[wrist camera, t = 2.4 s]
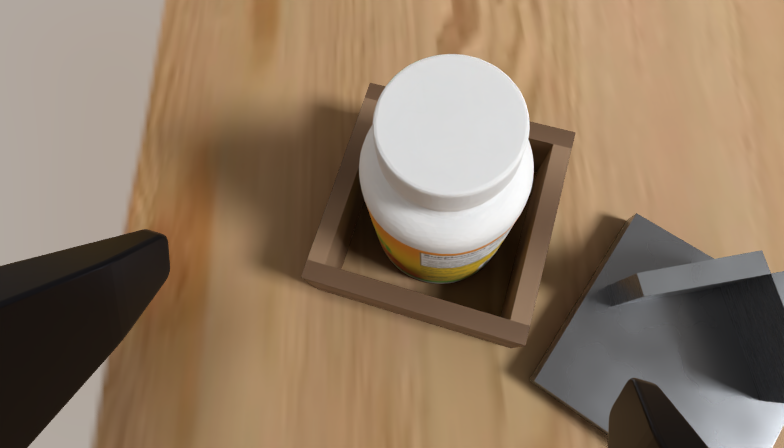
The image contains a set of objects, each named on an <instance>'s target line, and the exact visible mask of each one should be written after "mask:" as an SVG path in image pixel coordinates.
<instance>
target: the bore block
mask: <svg viewBox="0 0 784 448" xmlns="http://www.w3.org/2000/svg"><path fill="white" fill-rule="evenodd" d="M385 87H386V86H381V85H377V84H373V83H370V85H369V87H368V90H367V93H366V96H365V99H364V101H363V104H362V107H361V110H360V113H359V115H358V118H357V121H356V124H355V127H354V129H353V132H352V135H351V138H350V141H349V144H348V146H347V149H346V152H345V155H344V158H343V160H342V163H341V166H340V169H339V172H338V174H337V177H336V180H335V183H334V186H333V188H332V191H331V194H330V197H329V200H328V203H327V205H326V208H325V211H324V214H323V217H322V219H321V222H320V225H319V228H318V231H317V233H316V236H315V239H314V242H313V245H312V247H311V250H310V253H309V256H308V259H307V262H306V264H305V267H304V270H303V273H302V276H301V278H303V279H304V280H306V281H307V282H308V283H310V284H311V285H313V286H314V287H316V288H317V289H319V290H323V291H326V292H329V293H333V294H336V295H339V296H342V297H346V298H349V299H352V300H355V301H359V302H362V303H365V304H368V305H372V306H375V307H378V308H382V309H385V310H388V311H391V312H395V313H398V314H401V315H404V316H408V317H411V318H414V319H417V320H421V321H424V322H427V323H430V324H434V325H437V326H440V327H444V328H447V329H450V330H453V331H457V332H460V333H463V334H466V335H470V336H473V337H476V338H479V339H483V340H486V341H489V342H492V343H496V344H499V345H502V346H506V347H509V348H515V347H520V346H525V345H526V341H527V337H528V333H529V328H530V324H531V320H532V316H533V311H534V307H535V303H536V299H537V294H538V290H539V286H540V281H541V277H542V273H543V269H544V264H545V260H546V256H547V252H548V247H549V243H550V239H551V235H552V230H553V226H554V222H555V217H556V213H557V209H558V205H559V200H560V196H561V192H562V188H563V183H564V179H565V175H566V171H567V166H568V162H569V158H570V153H571V149H572V145H573V141H574V136H575V132H571V131H567V130H563V129H559V128H555V127H550V126H546V125H542V124H538V123H534V122H530V121H529V125H530V130H529V138H528V140H529V143H530V146H531V149H532V154H533V162H534V172H536V177H535V181H534V185H533V189H532V193H531V197H530V201H529V205H528V209H527V213H526V217H525V221H524V225H523V229H522V233H521V237H520V241H519V245H518V249H517V253H516V257H515V261H514V265H513V269H512V273H511V277H510V281H509V285H508V289H507V293H506V297H505V301H504V305H503V309H502V313H501V317H499V316H495V315H492V314H489V313H485V312H482V311H479V310H475V309H472V308H468V307H465V306H462V305H458V304H455V303H452V302H448V301H445V300H442V299H438V298H435V297H432V296H428V295H425V294H422V293H418V292H415V291H412V290H408V289H405V288H401V287H398V286H395V285H391V284H388V283H385V282H381V281H378V280H375V279H371V278H368V277H365V276H361V275H358V274H355V273H351V272H348V271H345V270H341V268H342V265H343V262H344V259H345V256H346V253H347V250H348V247H349V244H350V241H351V238H352V235H353V232H354V229H355V226H356V223H357V220H358V217H359V215H360V212H361V209H362V206H363V203H364V197H363V193H362V190H361V185H360V178H359V161H360V153H361V150H362V146H363V143H364V140H365V138H366V135H367V133H368V131H369V129H370V128H371V126H372V125H373V115H374V111H375V107H376V104H377V102H378V99H379V97H380V95H381V93H382V91H383V90H384V88H385Z"/></svg>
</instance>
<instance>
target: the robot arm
mask: <svg viewBox="0 0 784 448" xmlns="http://www.w3.org/2000/svg"><path fill="white" fill-rule="evenodd" d="M169 272H170V260H169V248H168V239H167V238H166V236H165V235H163V234H161V233H158V232H155V231H151V230H147V229H144V230H140V231H136V232H132V233H128V234H124V235H120V236H116V237H112V238H109V239H105V240H101V241H97V242H93V243H89V244H85V245H81V246H77V247H73V248H69V249H66V250H62V251H57V252H54V253H50V254H46V255H42V256H38V257H34V258H31V259H26V260H22V261H18V262H14V263H10V264H7V265H3V266H0V448H27V447H28V446H29V445H30V444H31V443H32V442H33V441H34V440H35V438H36V437H37V436H38V435H39V434H40V433H41V432H42V431H43V429H44V428H45V427H46V426H47V425H48V424H49V423H50V422H51V420H52V419H53V418H54V417H55V416H56V415H57V414H58V413H59V411H60V410H61V409H62V408H63V407H64V406H65V405H66V403H67V402H68V401H69V400H70V399H71V398H72V397H73V396H74V394H75V393H76V392H77V391H78V390H79V389H80V388H81V387H82V385H83V384H84V383H85V382H86V381H87V380H88V379H89V377H90V376H91V375H92V374H93V373H94V372H95V371H96V370H97V369H98V367H99V366H100V365H101V364H102V363H103V362H104V361H105V360H106V358H107V357H108V356H109V355H110V354H111V353H112V352H113V351H114V349H115V348H116V347H117V346H118V345H119V344H120V342H121V341H122V340H123V339H124V337H125V336H126V335H127V334H128V332H129V331H130V330H131V328H132V327H133V325H134V324H135V323H136V321H137V320H138V319H139V317H140V316H141V314H142V313H143V312H144V310H145V309H146V307H147V306H148V305H149V303H150V302H151V300H152V299H153V298H154V296H155V295H156V293H157V292H158V291H159V289H160V288H161V287H162V285H163V284H164V282H165V281H166V279H167V277H168V275H169ZM608 448H709V447H708V446H707V445H706V444H705V442H704V441H703V440H702V439H701V437H700V436H699V435H698V434H697V433H696V431H695V430H694V429H693V428H692V426H691V425H690V424H689V423H688V422H687V420H686V419H685V418H684V417H683V416H682V414H681V413H680V412H679V411H678V409H677V408H676V407H675V406H674V405H673V403H672V402H671V401H670V400H669V398H668V397H667V396H666V395H665V394H664V392H663V391H662V390H661V389H660V388H659V387H658V386H657V385H656V384H654V383H651V382H648V381H645V380H642V379H638V378H631V379H629V380H628V381H627V383H626V384H625V386H624V388H623V389H622V391H621V393H620V394H619V396H618V398H617V399H616V401H615V403H614V404H613V406H612V408H611V411H610V415H609V426H608Z"/></svg>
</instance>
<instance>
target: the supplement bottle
mask: <svg viewBox="0 0 784 448" xmlns="http://www.w3.org/2000/svg"><path fill="white" fill-rule="evenodd" d="M529 130H530V125H529V114H528V110H527V106H526V103H525V100H524V98H523V96H522V94H521V92H520V90H519V89H518V87H517V86H516V85H515V83H514V82H513V81H512V80H511V79H510V78H509V77H508V76H507V75H506V74H505V73H504V72H503V71H501V70H500V69H499V68H497V67H496V66H494V65H492V64H490V63H488V62H486V61H484V60H481V59H479V58H475V57H471V56H466V55H458V54H446V55H436V56H431V57H428V58H424V59H421V60H419V61H416V62H414V63H413V64H411V65H409V66H407V67H406V68H404V69H403V70H401V71H400V72H399V73H398V74H397V75H395V76H394V77H393V78H392V80H391V81H390V82H389V83H388V84H387V86H386V87H385V88H384V90H383V91H382V93H381V95H380V97H379V99H378V102H377V104H376V107H375V111H374V115H373V125H372V126H371V128H370V129H369V131H368V133H367V135H366V138H365V140H364V143H363V146H362V150H361V153H360V161H359V178H360V185H361V190H362V193H363V197H364V200H365V203H366V205H367V208H368V211H369V214H370V217H371V219H372V222H373V225H374V228H375V230H376V233H377V236H378V238H379V241H380V244H381V246H382V248H383V250H384V252H385V253H386V255H387V256H388V258H389V259H390V260H391V262H392V263H393V264H394V265H395V266H396V267H397V268H398V269H400V270H401V271H402V272H403V273H405V274H407V275H408V276H410V277H412V278H414V279H417V280H420V281H423V282H428V283H436V284H443V283H453V282H457V281H461V280H463V279H466V278H468V277H470V276H472V275H473V274H475V273H477V272H478V271H479V270H481V269H482V268H483V267H484V266H485V265H486V264H487V263H488V262H489V261H490V260H491V259H492V257H493V256H494V255H495V253H496V252H497V250H498V248H499V247H500V245H501V244H502V242H503V241H504V239H505V238H506V236H507V235H508V233H509V231H510V230H511V228H512V226H513V225H514V223H515V222H516V220H517V219H518V217H519V216H520V214H521V212H522V210H523V208H524V207H525V205H526V202H527V200H528V197H529V194H530V192H531V188H532V183H533V174H534V162H533V154H532V149H531V146H530V143H529V140H528V138H529Z"/></svg>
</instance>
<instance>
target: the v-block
mask: <svg viewBox="0 0 784 448" xmlns="http://www.w3.org/2000/svg"><path fill="white" fill-rule="evenodd" d="M631 378H638V379H642V380H645V381H648V382H651V383H654V384H656V385H657V386H658V387H659V388H660V389H661V390H662V391H663V392H664V394H665V395H666V396H667V397H668V398H669V400H670V401H671V402H672V403H673V405H674V406H675V407H676V408H677V409H678V411H679V412H680V413H681V414H682V416H683V417H684V418H685V419H686V420H687V422H688V423H689V424H690V425H691V426H692V428H693V429H694V430H695V431H696V433H697V434H698V435H699V436H700V437H701V439H702V440H703V441H704V442H705V444H706V445H707V446H708V447H709V448H773V446H774V444H775V442H776V439H777V437H778V435H779V433H780V431H781V429H782V427H783V425H784V271H782V272H777V273H771V272H770V270H769V267H768V265H767V262H766V260H765V257H764V254H763V252H762V251H756V252H751V253H745V254H740V255H734V256H729V257H723V258H718V259H714V258H712V257H710V256H708V255H707V254H705V253H703V252H702V251H700V250H698V249H696V248H695V247H693V246H691V245H690V244H688V243H686V242H684V241H683V240H681V239H679V238H678V237H676V236H674V235H673V234H671V233H669V232H667V231H666V230H664V229H662V228H661V227H659V226H657V225H655V224H654V223H652V222H650V221H649V220H647V219H645V218H644V217H642V216H640V215H638V214H637V213H636V214H635V215H634V216H632V217H631V218H629V219H628V220H627V221H626V223H625V224H624V226H623V227H622V229H621V231H620V232H619V234H618V236H617V237H616V239H615V241H614V242H613V244H612V245H611V247H610V249H609V250H608V252H607V254H606V255H605V257H604V258H603V260H602V262H601V263H600V265H599V267H598V268H597V270H596V272H595V273H594V275H593V276H592V278H591V280H590V281H589V283H588V285H587V286H586V288H585V290H584V291H583V293H582V294H581V296H580V298H579V299H578V301H577V303H576V304H575V306H574V307H573V309H572V311H571V312H570V314H569V316H568V317H567V319H566V321H565V322H564V324H563V325H562V327H561V329H560V330H559V332H558V334H557V335H556V337H555V338H554V340H553V342H552V343H551V345H550V347H549V348H548V350H547V352H546V353H545V355H544V356H543V358H542V360H541V361H540V363H539V365H538V366H537V368H536V369H535V371H534V373H533V374H532V376H531V378H530V379H529V381H531V382H532V383H534V384H535V385H537V386H538V387H540V388H541V389H542V390H544V391H545V392H547V393H548V394H550V395H551V396H553V397H554V398H555V399H557V400H558V401H560V402H561V403H563V404H564V405H565V406H567V407H568V408H570V409H571V410H573V411H574V412H576V413H577V414H578V415H580V416H581V417H583V418H584V419H586V420H587V421H589V422H590V423H591V424H593V425H594V426H596V427H597V428H599V429H600V430H602V431H603V432H604V433H606V434H607V435H608V426H609V415H610V411H611V408H612V406H613V404H614V403H615V401H616V399H617V398H618V396H619V394H620V393H621V391H622V389H623V388H624V386H625V384H626V383H627V381H628V380H629V379H631Z"/></svg>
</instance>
